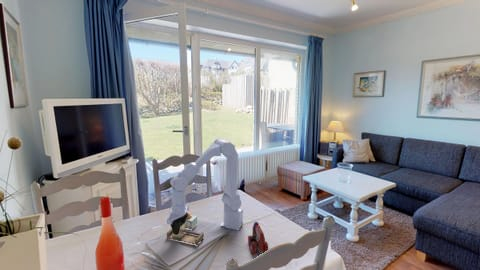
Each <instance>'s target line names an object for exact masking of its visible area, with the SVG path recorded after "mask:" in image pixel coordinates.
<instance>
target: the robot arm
mask: <svg viewBox="0 0 480 270" xmlns="http://www.w3.org/2000/svg"><path fill="white" fill-rule="evenodd" d="M222 156H223V157H225V159H226V170H225V171H226V174H225V176H226V180H225V189H223V194H222V197H221V202H222V203H223V221H222V222H221V224H220V225H221V226H225V227H226V228H227V229H231V230H235V231H239V230H240V229H241V226H242V225H243V223H244V209H242V208H241V206H242V200H241V197H240V196H241V195H240V193H239V190H238V171H239V170H238V168H239V167H238V166H239V153H238V152H237V150H236V146H235V144H234V143H232V142H231V141H227V140H224V139H222V138H216V139H215V140H214V141H213V142H211V143H210V145H209V147H208V148H207V149H206V150H205V151H204V152H203V153H202V154H201V155H200V156H199V157H198V158H197V159H196V160H195V161H194V162H190V163H186V165H185V167H184V168H183V169H182V170H181V171H179V172H178V173H177V174H175V175H173V176H172V177H171V178H170V180H169V183H170V185H171V209H170V211H169V216H168V217H167V219H166V225H170V227H171V228H170V229H172V231H173V234H175V235H178V233H179V226H180V223H181V222H182V223H185V221H186V219H187V217H188V215H189V214H188V213H187V212H188V211H189V210H190V206H189V205H188V204H186V189H187V188H188V186H189V183H190V182H191V181H192V180H193V179H194V178H195V177H196V176H197V175H198V174H199V173H200V171H201V170H200V169H201V168H202V167H203V166H204V165H205V164H207V163H208V161H210V160H211V159H212V158H214V157H222ZM221 226H220V227H221ZM225 227H224V228H225Z"/></svg>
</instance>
